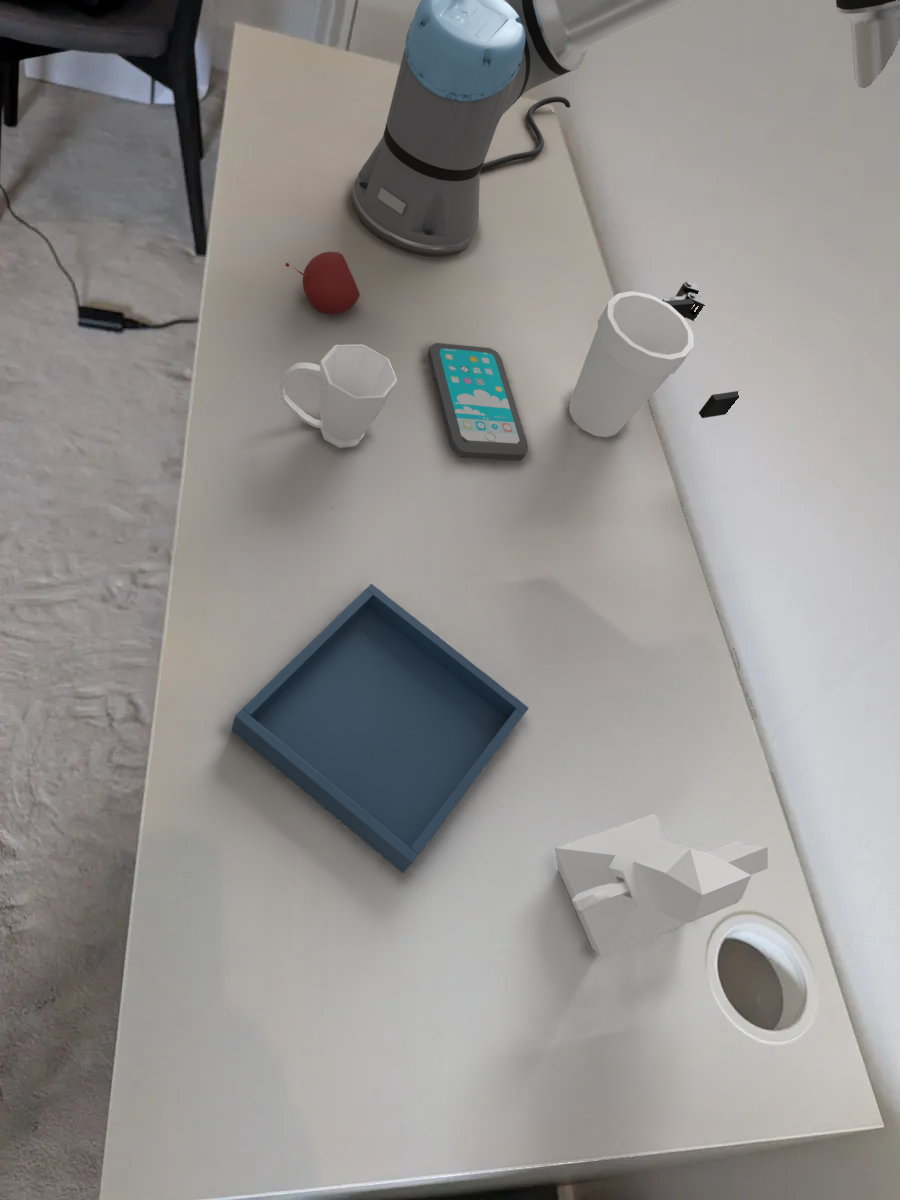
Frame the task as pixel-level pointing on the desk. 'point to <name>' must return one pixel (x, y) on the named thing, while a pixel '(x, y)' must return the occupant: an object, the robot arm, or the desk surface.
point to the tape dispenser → (650, 882)
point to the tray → (381, 724)
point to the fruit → (329, 283)
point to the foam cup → (628, 361)
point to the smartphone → (477, 402)
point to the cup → (346, 392)
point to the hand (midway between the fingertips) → (673, 359)
